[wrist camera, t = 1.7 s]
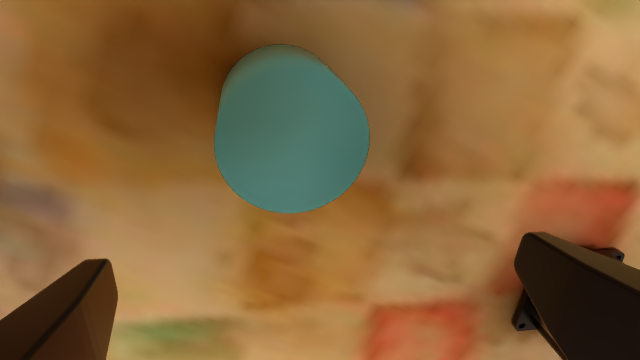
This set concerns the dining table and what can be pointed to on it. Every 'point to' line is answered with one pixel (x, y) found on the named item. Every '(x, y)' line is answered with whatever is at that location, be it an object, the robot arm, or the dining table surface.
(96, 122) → the dining table surface
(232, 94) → the teal drum
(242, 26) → the dining table surface
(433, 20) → the dining table surface
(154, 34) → the dining table surface
